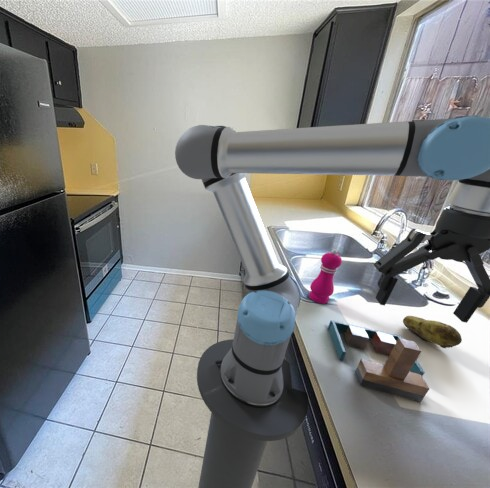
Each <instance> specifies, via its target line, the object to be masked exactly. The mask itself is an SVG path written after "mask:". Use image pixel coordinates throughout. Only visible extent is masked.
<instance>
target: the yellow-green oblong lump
mask: <svg viewBox="0 0 490 488" xmlns="http://www.w3.org/2000/svg"><path fill="white" fill-rule="evenodd" d="M402 323H403V325H404V326H405V328H406V329H408V330H409V331H412V332H413V333H414V334H415V335H417V336H418V337H419V338H420V339H423V340H425V341H427V342H429V343H434V344H436V346H437V345H438V346H439V347H440V348H442V349H447V348H448V349H449V348H453V347H456V346H459V345H460V344H461V343H462V341H463V338H462V335H461V333H460V332H459V331H458V329H456V328H455V327H454V326H452V325H450V324H447V323H443V322H442V321H437V320H430V319H424V318H422V317H419V316H415V315H406V316H405V317H404V318H403V320H402Z"/></svg>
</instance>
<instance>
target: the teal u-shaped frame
mask: <svg viewBox="0 0 490 488" xmlns="http://www.w3.org/2000/svg"><path fill="white" fill-rule="evenodd" d="M348 326H354V327H358V328H362V329H365V331H366V333H367V335H368V337H369V340H372V339H373V337H374V334H375V332H380V333H384V334H388V335H392V336H393V337H394V339H395V340H396V342H397V340H398V338H401V339H403V336H401V335H399V334H395V333H390V332H385V331H381V330H376V329H372V328H367V327H363V326H359V325H354V324H350V323H346V322H342V321H336V320H330V321H329V323H328V327H327V329H328V331H329V333H330V336H331V340H332V342H333V345H334V348H335V351H336V354H337V357H338V360H340V361H344V359H345V357H346V354H347V350H346V348H345V345H344V343H343V340H342V338H341V334H340V333H343V334H345V333H346V331H347V329H348ZM409 372H413V373H417V374H420V375H421V376H422V377H424V375H425V370H424V369H423V367H422V366H421V365H420V363H419V362H418V359H417V360H416V361H415V363H414V365H413V366H412V368H411V370H410V371H409Z"/></svg>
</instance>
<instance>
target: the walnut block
mask: <svg viewBox="0 0 490 488" xmlns="http://www.w3.org/2000/svg"><path fill="white" fill-rule="evenodd" d="M344 339H345V340H346V343H347V345H348V346H350V347H354V348H358V349H363V350H365V348H366V346H367V344H368V342H369V340H370V339H369V337H368V335H367V333H366V331H365V329H362V328H358V327H354V326H348V329H347V331H346V333H344Z"/></svg>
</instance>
